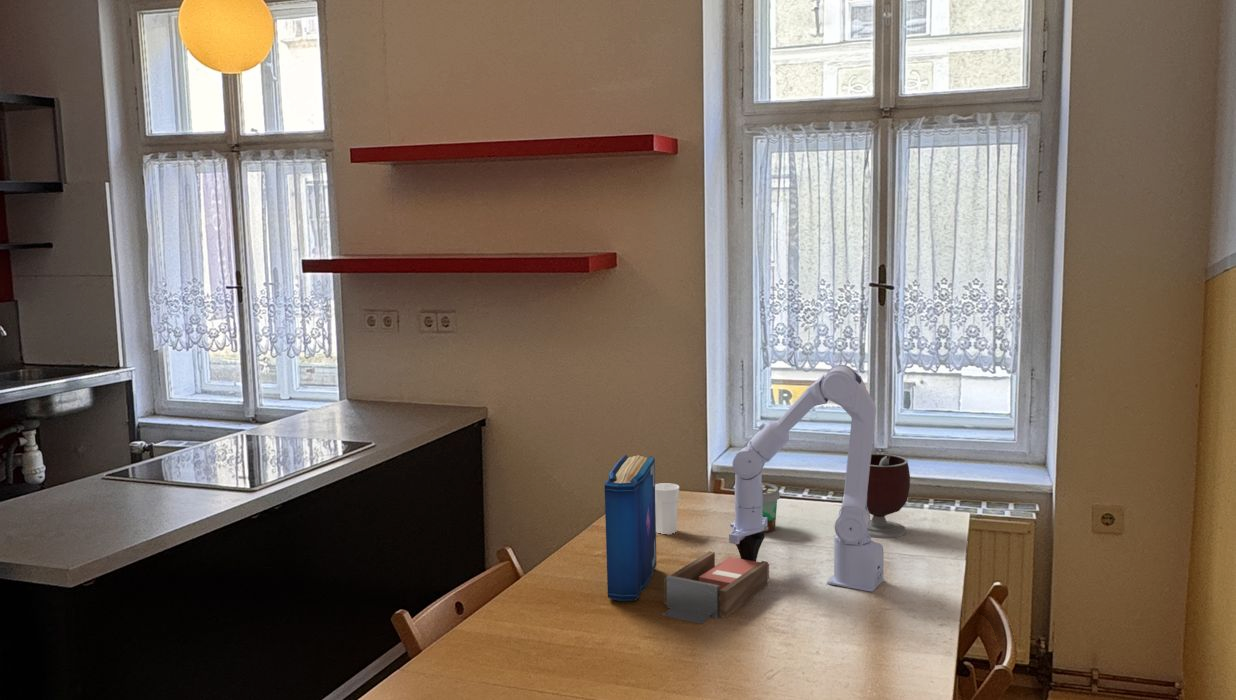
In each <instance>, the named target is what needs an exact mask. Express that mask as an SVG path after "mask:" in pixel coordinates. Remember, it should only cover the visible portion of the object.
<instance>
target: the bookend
mask: <svg viewBox="0 0 1236 700" xmlns="http://www.w3.org/2000/svg"><path fill="white" fill-rule="evenodd" d="M670 575H671V574H670ZM670 575H667V576H666V578H667V605H666V607H667V608H668V610H667V611H665V612H663V613H662V617H663V616H664V617H668V618H673V619H676V620H682V621H685V622H691V623H695V624H700V625H701V624H703V623H704V622H705V621H706V620H708V619H710V618H716V619H718V618H720V617H721V616H720V585H715V584H710V583H705V582H700V581H695V580H690V579H685V578H680V577H675V576H670Z"/></svg>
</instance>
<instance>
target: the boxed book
mask: <svg viewBox="0 0 1236 700" xmlns="http://www.w3.org/2000/svg"><path fill="white" fill-rule="evenodd" d="M760 562H761V561H757V560H756V561H750V560H745V559H741V558H739V557H732V556H729V557H727V558H725V559H724V560H723V561H721V562H719V563H718V564H715V567H713V568H712V569H710V570H709V571H707V572H705V573H704V574H702V575H701V576H699V581H700V582H705V583H710V584H715V585H720V590H721V589H722V588H724V587H725V586H727V585H728V584H730V583H731V582H733V581H734V580H735V579H737V578H738V577H740V576H741V575H743V574H744V573H746V572H747V571H748V570H750V569H751V568H753V567H754V566H756V565H757V564H759V563H760ZM768 580H770V563H768Z"/></svg>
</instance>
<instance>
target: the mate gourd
mask: <svg viewBox="0 0 1236 700" xmlns="http://www.w3.org/2000/svg"><path fill="white" fill-rule="evenodd" d="M910 487H911V473H910V467H909V460H908V458H906V457H903V456H900V455H895V454H888V453H887V454H886V453H871V463H870V472H869V481H868V490H867V508H868V511H869V514H870V515H872V518H871V519H870V521H869V524H868V527H867V532H868V534H869V535H870V536H871V538H879V539H888V538H889V539H890V538H896V537H901V536H903V535H905V534H906V527H905V526H904V525H902V524H901V523H898V522H896V521H890V520H887V519H886V516H888V515H891V514H894V513H897V512H899V511H901V510H902V508H903V507H904V506H905V505H906V503H907V501H908V498H909V492H910Z"/></svg>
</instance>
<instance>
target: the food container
mask: <svg viewBox="0 0 1236 700" xmlns="http://www.w3.org/2000/svg"><path fill="white" fill-rule="evenodd" d="M778 488H779V487H777V486H776V485H774V484H772V483H767V482H762V517H767V526H766V527H764V529H763V531H761V532H759V533H763V534H765V535H766V534H771V533H773V532H775V530H776V524H777V523H776V521H777V520H776V519H777V510H778V509H777V506H778V500H780V498H781V495H780V491H779V489H778Z"/></svg>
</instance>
